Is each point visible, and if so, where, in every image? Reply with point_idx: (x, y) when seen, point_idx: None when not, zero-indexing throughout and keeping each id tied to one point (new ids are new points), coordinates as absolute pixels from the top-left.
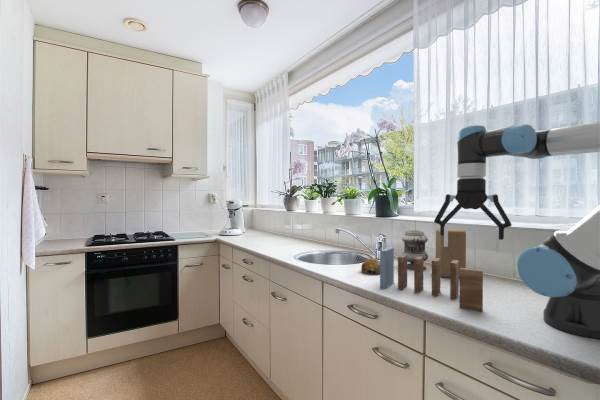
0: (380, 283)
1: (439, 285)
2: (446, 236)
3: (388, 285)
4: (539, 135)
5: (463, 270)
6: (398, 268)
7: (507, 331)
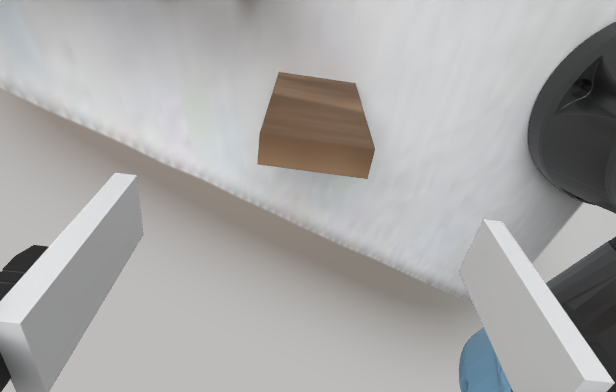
0: None
1: None
2: (105, 296)
3: None
4: None
5: (277, 162)
6: None
7: (389, 228)
